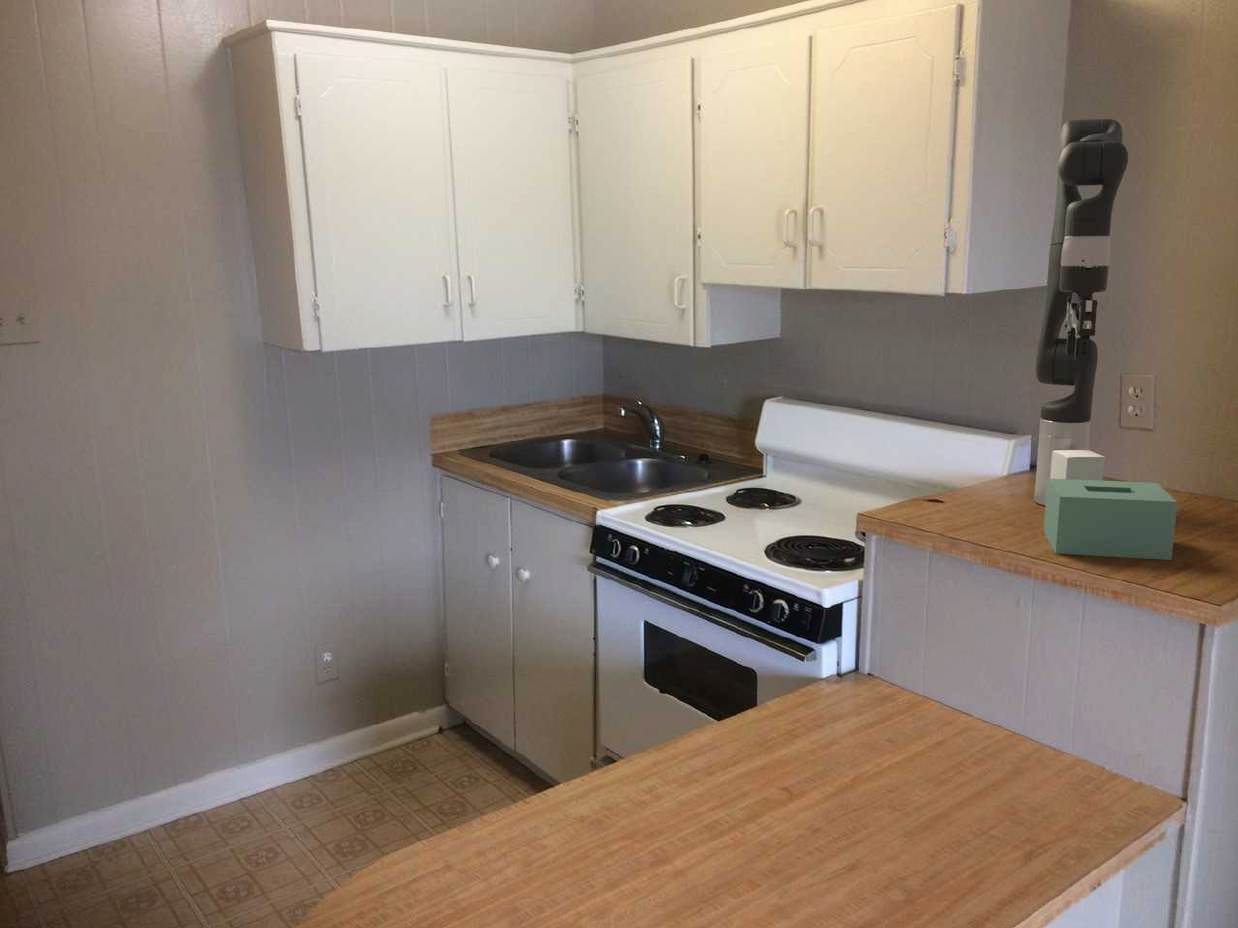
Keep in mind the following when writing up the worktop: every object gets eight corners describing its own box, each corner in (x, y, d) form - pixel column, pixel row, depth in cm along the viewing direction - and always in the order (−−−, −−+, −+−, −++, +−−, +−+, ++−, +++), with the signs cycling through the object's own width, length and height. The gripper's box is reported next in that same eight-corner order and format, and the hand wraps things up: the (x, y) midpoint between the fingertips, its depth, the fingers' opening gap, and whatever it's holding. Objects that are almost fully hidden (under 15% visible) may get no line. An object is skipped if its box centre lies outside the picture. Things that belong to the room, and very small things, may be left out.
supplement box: (1101, 522, 195) (1106, 456, 192) (1061, 522, 195) (1066, 457, 192) (1084, 512, 202) (1089, 449, 199) (1046, 512, 202) (1051, 449, 200)
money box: (1043, 531, 189) (1047, 478, 187) (1150, 537, 184) (1156, 482, 182) (1055, 553, 176) (1060, 496, 173) (1171, 560, 171) (1177, 501, 169)
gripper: (1054, 263, 184) (1048, 353, 187) (1068, 264, 170) (1060, 362, 174) (1100, 262, 182) (1092, 354, 185) (1117, 264, 168) (1108, 363, 172)
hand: (1077, 358), depth 179 cm, fingers open, 8 cm apart
